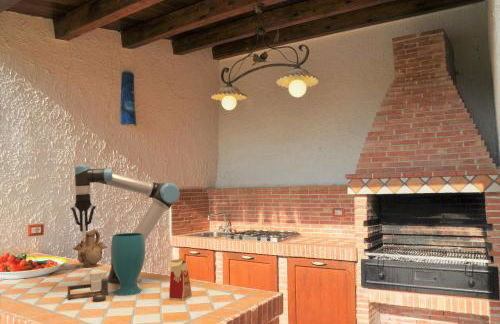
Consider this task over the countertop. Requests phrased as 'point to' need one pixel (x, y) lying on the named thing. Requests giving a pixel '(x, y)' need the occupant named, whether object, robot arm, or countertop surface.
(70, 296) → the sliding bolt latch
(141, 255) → the vase
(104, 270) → the countertop surface
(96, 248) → the ceramic vessel
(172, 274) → the milk carton
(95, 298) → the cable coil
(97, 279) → the sleeve
